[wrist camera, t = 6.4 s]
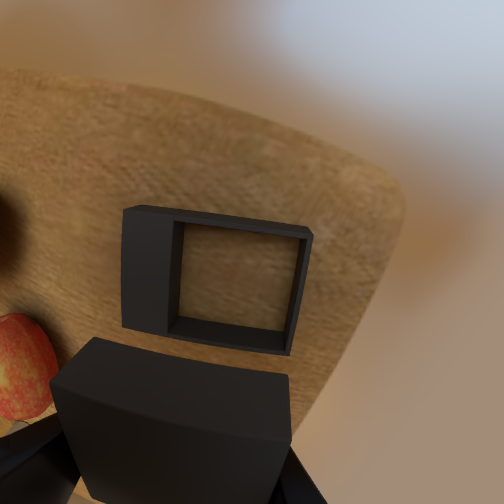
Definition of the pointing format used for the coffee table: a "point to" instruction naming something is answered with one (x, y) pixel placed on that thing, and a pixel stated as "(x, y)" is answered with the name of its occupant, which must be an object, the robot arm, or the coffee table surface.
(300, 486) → the robot arm
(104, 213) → the coffee table surface
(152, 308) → the black tray
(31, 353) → the apple
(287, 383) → the black block
